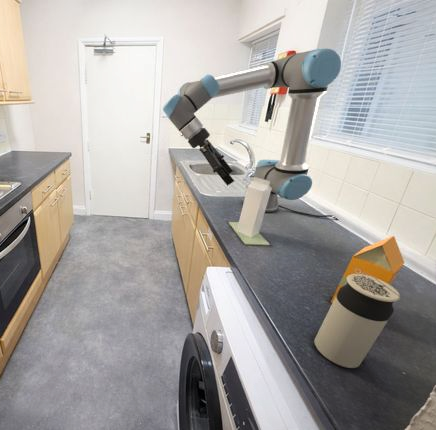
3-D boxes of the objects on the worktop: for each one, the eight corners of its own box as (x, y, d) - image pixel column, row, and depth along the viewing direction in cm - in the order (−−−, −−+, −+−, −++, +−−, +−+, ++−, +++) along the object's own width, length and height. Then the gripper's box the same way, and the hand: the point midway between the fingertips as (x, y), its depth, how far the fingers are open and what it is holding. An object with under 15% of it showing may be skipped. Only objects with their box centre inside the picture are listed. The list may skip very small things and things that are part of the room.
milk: (250, 237, 101) (266, 182, 91) (236, 231, 105) (249, 178, 96) (258, 233, 104) (274, 179, 95) (244, 227, 109) (257, 175, 99)
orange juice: (378, 307, 69) (417, 242, 61) (366, 321, 65) (406, 252, 56) (342, 290, 75) (373, 228, 67) (329, 301, 71) (360, 237, 62)
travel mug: (325, 365, 54) (363, 297, 46) (307, 333, 61) (336, 270, 53) (369, 372, 53) (415, 304, 45) (345, 339, 60) (381, 275, 52)
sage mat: (249, 223, 113) (249, 222, 113) (270, 245, 97) (270, 244, 96) (228, 222, 113) (228, 221, 113) (245, 244, 97) (245, 243, 97)
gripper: (190, 136, 110) (221, 175, 112) (182, 146, 89) (221, 194, 91) (205, 123, 106) (238, 164, 108) (201, 130, 85) (241, 181, 87)
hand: (230, 178), depth 99 cm, fingers open, 13 cm apart
